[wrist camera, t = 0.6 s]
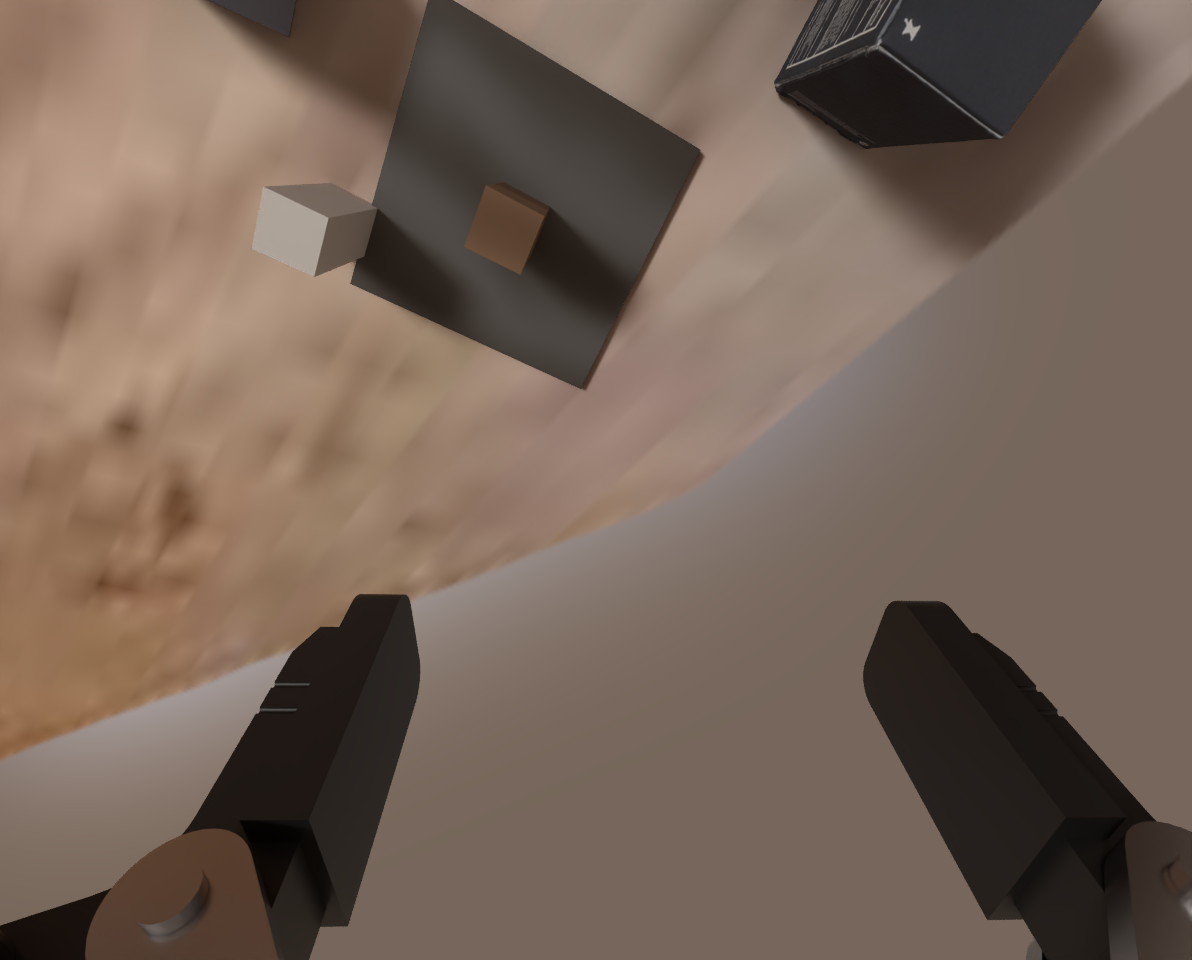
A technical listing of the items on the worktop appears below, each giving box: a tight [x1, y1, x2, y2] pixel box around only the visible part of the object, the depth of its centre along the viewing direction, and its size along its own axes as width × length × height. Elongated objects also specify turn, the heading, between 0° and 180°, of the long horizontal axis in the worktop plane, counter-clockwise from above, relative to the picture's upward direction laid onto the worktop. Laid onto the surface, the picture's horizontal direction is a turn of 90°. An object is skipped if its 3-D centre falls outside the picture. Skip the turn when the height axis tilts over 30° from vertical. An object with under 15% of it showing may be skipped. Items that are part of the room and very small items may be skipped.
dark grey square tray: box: [350, 0, 700, 389], centre depth 27 cm, size 14×14×7 cm
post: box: [252, 183, 378, 277], centre depth 27 cm, size 3×3×7 cm
